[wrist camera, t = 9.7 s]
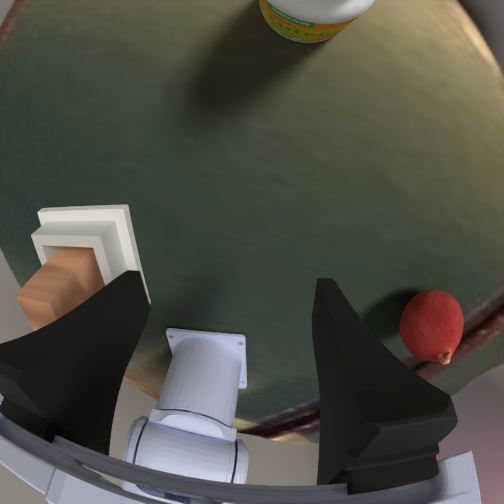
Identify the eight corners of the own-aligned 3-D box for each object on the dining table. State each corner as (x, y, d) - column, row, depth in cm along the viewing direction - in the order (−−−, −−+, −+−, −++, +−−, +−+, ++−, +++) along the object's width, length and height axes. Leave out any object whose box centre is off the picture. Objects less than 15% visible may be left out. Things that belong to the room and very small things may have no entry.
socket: (150, 302, 27) (138, 326, 24) (71, 292, 28) (56, 312, 25) (128, 204, 21) (108, 223, 19) (42, 208, 22) (21, 224, 19)
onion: (454, 286, 23) (490, 348, 16) (415, 325, 26) (439, 389, 19) (420, 260, 22) (458, 328, 15) (378, 306, 25) (400, 378, 18)
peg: (112, 280, 25) (70, 343, 18) (79, 276, 25) (36, 333, 18) (101, 242, 23) (49, 303, 16) (67, 240, 23) (15, 295, 16)
